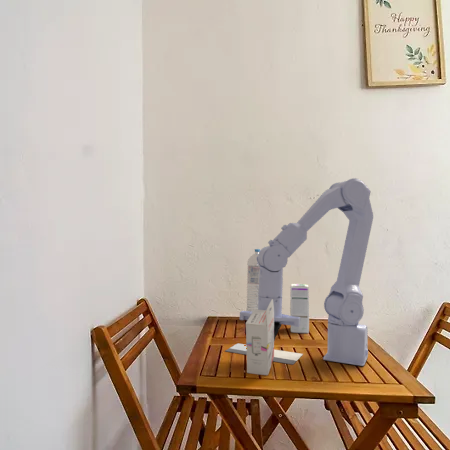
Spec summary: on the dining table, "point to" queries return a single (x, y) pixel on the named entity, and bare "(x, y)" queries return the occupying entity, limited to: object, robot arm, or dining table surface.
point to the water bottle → (253, 281)
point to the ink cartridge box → (260, 340)
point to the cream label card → (286, 357)
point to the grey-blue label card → (238, 349)
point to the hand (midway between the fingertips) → (268, 352)
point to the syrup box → (300, 306)
